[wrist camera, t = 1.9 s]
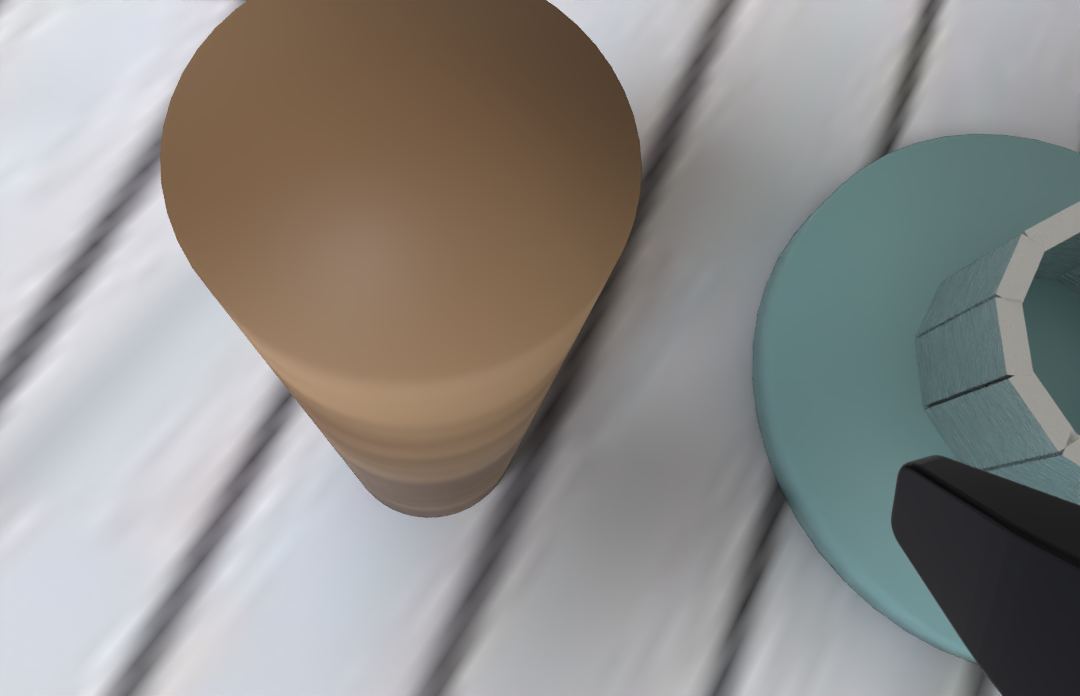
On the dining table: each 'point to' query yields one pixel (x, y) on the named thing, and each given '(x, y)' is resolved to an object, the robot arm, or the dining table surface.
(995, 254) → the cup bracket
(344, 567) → the dining table surface
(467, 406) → the dowel
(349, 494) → the dining table surface
